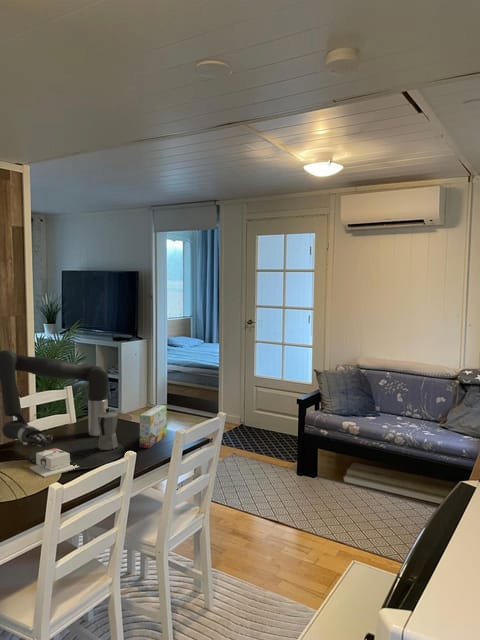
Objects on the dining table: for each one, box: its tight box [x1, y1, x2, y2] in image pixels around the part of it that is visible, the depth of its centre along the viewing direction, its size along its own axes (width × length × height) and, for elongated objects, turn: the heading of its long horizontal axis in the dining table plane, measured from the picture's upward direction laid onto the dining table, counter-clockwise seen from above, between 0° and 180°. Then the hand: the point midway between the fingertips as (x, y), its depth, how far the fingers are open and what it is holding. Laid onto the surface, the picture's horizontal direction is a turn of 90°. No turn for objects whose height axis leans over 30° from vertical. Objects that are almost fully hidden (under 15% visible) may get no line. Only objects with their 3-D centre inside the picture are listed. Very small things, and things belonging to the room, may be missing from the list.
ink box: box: [35, 447, 71, 471], centre depth 187 cm, size 8×5×12 cm
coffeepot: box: [97, 408, 119, 449], centre depth 209 cm, size 15×9×18 cm, turn 179°
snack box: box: [139, 404, 168, 449], centre depth 220 cm, size 21×6×15 cm, turn 168°
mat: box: [29, 464, 80, 478], centre depth 186 cm, size 14×14×1 cm
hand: (47, 444), depth 190 cm, fingers closed
